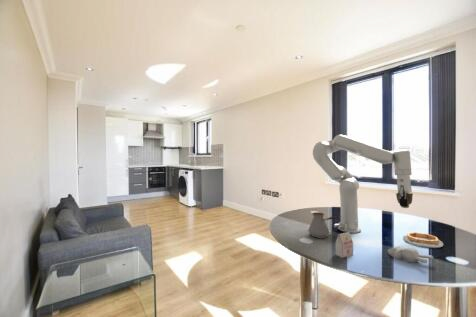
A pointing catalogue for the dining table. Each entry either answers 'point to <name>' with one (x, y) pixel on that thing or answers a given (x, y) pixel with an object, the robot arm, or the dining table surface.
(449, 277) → the dining table surface
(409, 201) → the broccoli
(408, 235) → the rosette plate
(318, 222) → the coffee pot
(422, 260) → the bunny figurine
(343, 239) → the milk carton
